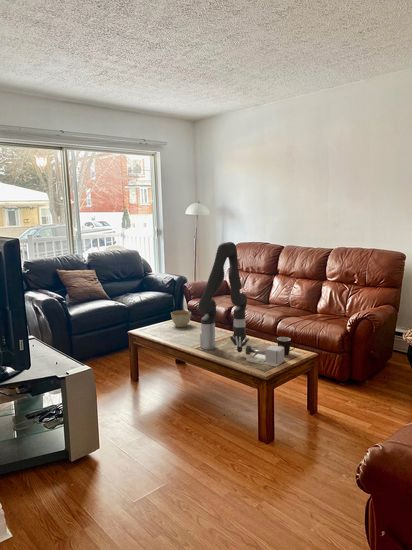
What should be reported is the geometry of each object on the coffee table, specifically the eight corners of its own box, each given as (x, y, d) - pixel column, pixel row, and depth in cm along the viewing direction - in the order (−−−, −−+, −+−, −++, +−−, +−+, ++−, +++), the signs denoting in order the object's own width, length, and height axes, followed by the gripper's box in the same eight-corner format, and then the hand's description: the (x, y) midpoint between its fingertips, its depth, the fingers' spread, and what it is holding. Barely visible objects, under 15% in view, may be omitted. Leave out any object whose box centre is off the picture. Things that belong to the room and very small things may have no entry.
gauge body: (246, 360, 250) (245, 346, 248) (254, 354, 260) (254, 341, 258) (277, 366, 239) (277, 352, 237) (285, 360, 249) (285, 346, 247)
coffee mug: (274, 353, 262) (274, 338, 260) (285, 351, 265) (285, 336, 264) (284, 359, 251) (284, 343, 250) (296, 356, 255) (296, 341, 253)
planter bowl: (191, 328, 322) (191, 314, 320) (171, 329, 321) (170, 315, 319) (191, 322, 337) (191, 310, 336) (171, 323, 337) (171, 310, 335)
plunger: (243, 357, 250) (243, 348, 250) (249, 353, 258) (249, 344, 257) (265, 361, 243) (265, 352, 242) (270, 356, 250) (270, 348, 249)
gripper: (227, 325, 256) (227, 352, 258) (246, 328, 249) (246, 355, 251) (232, 322, 262) (233, 348, 265) (251, 325, 255) (251, 351, 258)
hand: (239, 351), depth 258 cm, fingers closed
